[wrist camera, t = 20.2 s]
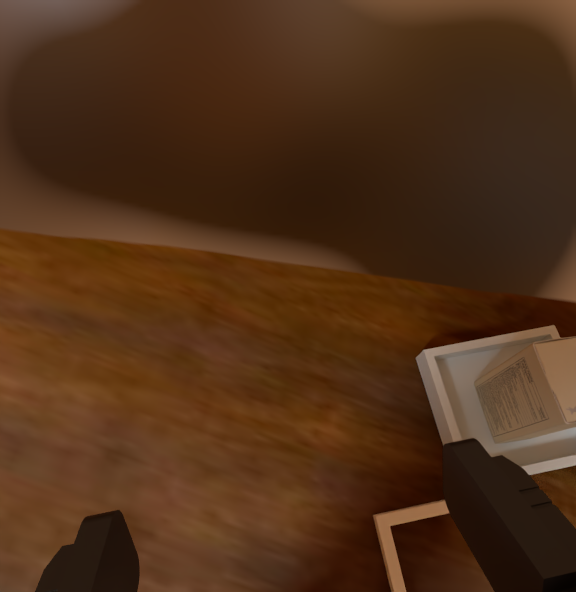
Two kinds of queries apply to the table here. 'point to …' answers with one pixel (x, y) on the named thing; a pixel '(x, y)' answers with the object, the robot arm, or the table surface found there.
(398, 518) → the holder
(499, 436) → the skincare box
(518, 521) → the robot arm
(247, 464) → the table surface
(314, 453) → the table surface
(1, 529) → the table surface
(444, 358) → the tray
